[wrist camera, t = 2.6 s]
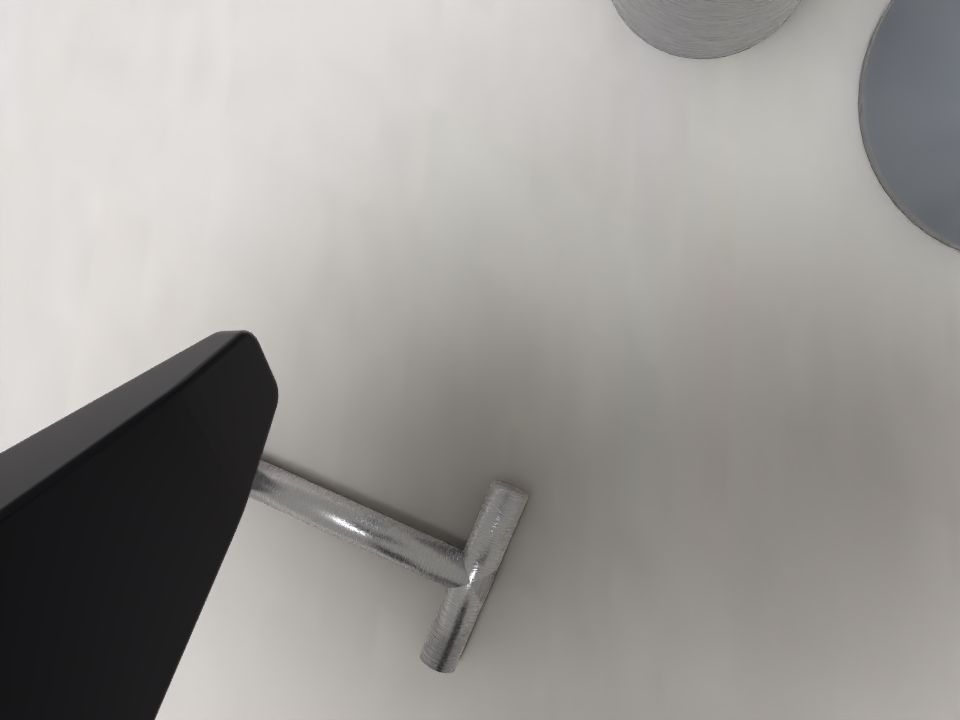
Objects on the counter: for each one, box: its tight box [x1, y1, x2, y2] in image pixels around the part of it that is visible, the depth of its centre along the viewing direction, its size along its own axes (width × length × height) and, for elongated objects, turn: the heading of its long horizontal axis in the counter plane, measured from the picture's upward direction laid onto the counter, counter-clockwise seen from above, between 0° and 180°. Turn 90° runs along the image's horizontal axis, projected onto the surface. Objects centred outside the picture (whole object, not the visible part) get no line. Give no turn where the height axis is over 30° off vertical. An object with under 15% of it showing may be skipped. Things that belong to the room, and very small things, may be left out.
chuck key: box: [249, 459, 528, 673], centre depth 22 cm, size 9×5×2 cm, turn 68°
